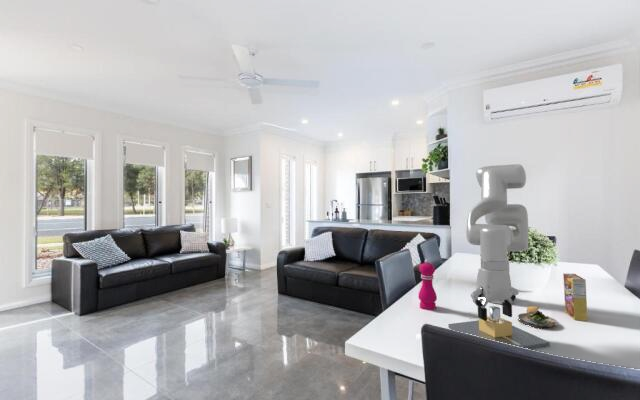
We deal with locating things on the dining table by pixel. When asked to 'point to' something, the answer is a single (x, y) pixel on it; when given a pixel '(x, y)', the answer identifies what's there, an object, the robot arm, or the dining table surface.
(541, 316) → the plate of food
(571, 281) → the candy box
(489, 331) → the yellow socket block
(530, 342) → the hub plate
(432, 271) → the pepper mill
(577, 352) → the dining table surface
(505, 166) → the robot arm
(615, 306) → the dining table surface
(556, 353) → the dining table surface
